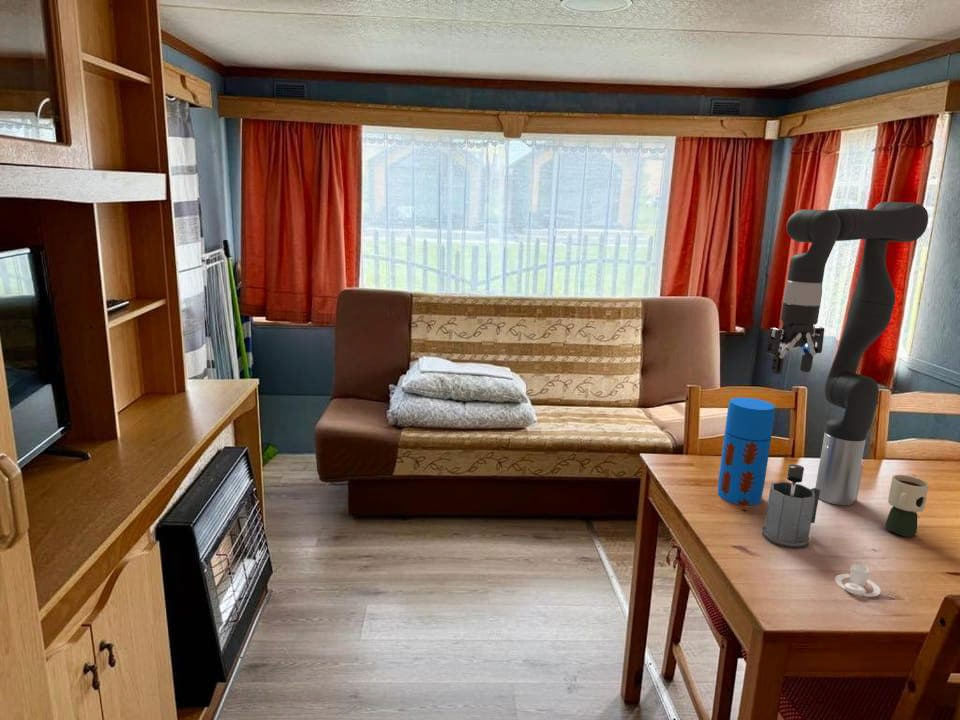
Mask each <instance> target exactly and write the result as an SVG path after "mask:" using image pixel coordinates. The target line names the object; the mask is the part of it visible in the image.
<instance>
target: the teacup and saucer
mask: <svg viewBox="0 0 960 720" xmlns="http://www.w3.org/2000/svg"><path fill="white" fill-rule="evenodd" d="M869 575H870V569H869V568H868V567H866V566H864V565H861V564H859V563H858V564H851V566H850V573H840V574H837V575H836V576H835V577H834V582H835V583H836V584H837V585H838V586H839V587H840V588H841V589H843V590H845V591H847V592H848V593H849V594H850V593H851V594H852V595H856V596H861V597H865V598H867V597H869V598H871V597H878V596H880V595H881V593H882V590H881V588H880V586H878V584H876V583H875V582H874V581H872V580H870V579H868V577H869ZM846 578H849V582H846V583H844V584H843V582H842V580H843V579H846ZM866 584H868V585H870V586H872V588H873V591H872V592H869V593H867V590H866V589H865V588H864V587H865V585H866Z"/></svg>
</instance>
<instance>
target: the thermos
mask: <svg viewBox="0 0 960 720" xmlns="http://www.w3.org/2000/svg"><path fill="white" fill-rule="evenodd" d="M775 415H776V406H775V405H774V404H773V403H772V402H769V401H766V400H762V399H759V398H758V399H757V398H750V397H734V398H730V400H729V403H728V405H727V414H726V420H725V428H724V435H723V442H722V449H721V456H720V457H721V459H720V465H719V467H720V468H719V472H718V473H719V474H718V480H717V481H718V483H717V495H718V496H719V498H721V499H722V500H724V501H726V502H728V503H732V504H735V505H740V506H757V505H758V504H760V503H761V501H762V497H763V492H764V488H765V482H766V475H767V469H768V462H769V455H770V450H771V449H770V448H771V442H772V435H773V429H774V423H775V422H774V421H775Z"/></svg>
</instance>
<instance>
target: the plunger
mask: <svg viewBox="0 0 960 720" xmlns="http://www.w3.org/2000/svg"><path fill="white" fill-rule="evenodd" d="M804 471H805V468H804V466H802V465H801V464H795V463H793V464H791V463H790V464H789V465H788V470H787V475H786V478H787V481H788V482H791V483H792V486H791V492H790V496H792V497H794V492H795V486H796V484H800V483H802V482H803V478H804V477H803V476H804Z"/></svg>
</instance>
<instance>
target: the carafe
mask: <svg viewBox="0 0 960 720" xmlns="http://www.w3.org/2000/svg"><path fill="white" fill-rule="evenodd" d="M791 486H792V482H791V481H777V482H771V484H770V489H769V496H768V503H767V508H766V509H767V510H766V516H765V522H764V525H763V527H762V533H761V534H762V537H763V538H764V539H765V540H766V541H767V542H769V543H771V544H772V545H775V546H778V547H779V548H784V549H790V550H802V549H805V548H808V546H809V544H810V530H811V526H812V525H811V524H815V521H816V516H817V509H818V505H819V504H818V503H819V500H820V499H819V493H820V490H819V489H817V488H815V487H813V488H809V487H807V486H805V485H803V484H800V483H796V486H795V492H794V497H792V496H790V492H791Z"/></svg>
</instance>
